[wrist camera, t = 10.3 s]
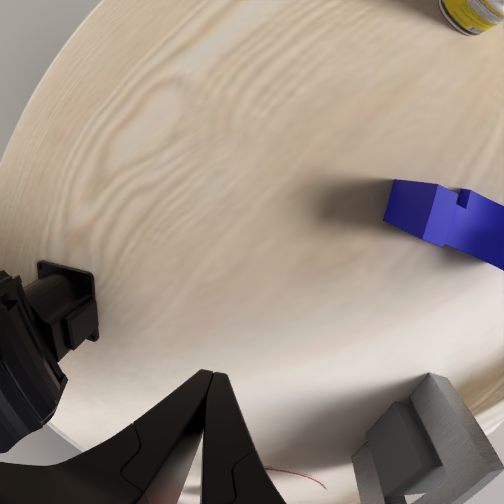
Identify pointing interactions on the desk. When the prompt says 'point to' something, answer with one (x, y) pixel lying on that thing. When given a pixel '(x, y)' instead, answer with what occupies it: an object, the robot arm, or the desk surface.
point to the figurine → (294, 473)
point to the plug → (404, 453)
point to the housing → (439, 449)
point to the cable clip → (449, 218)
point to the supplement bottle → (473, 14)
